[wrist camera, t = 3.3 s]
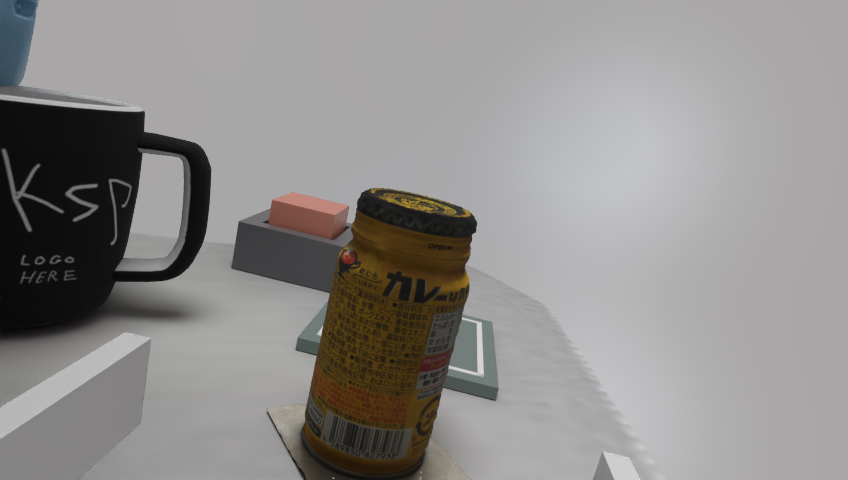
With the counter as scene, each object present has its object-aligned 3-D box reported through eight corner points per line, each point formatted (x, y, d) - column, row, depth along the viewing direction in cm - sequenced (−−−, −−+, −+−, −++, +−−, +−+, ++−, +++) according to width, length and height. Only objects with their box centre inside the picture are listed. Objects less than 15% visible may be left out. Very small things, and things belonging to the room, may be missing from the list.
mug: (-147, 411, 21) (-173, 81, 18) (-230, 287, 29) (-255, 50, 26) (226, 318, 34) (242, 122, 31) (96, 252, 42) (100, 93, 40)
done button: (266, 234, 46) (272, 199, 46) (287, 223, 52) (293, 192, 51) (328, 249, 46) (334, 215, 45) (343, 236, 51) (349, 205, 51)
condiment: (392, 397, 31) (440, 191, 28) (484, 499, 24) (559, 241, 22) (265, 412, 27) (308, 173, 24) (334, 540, 20) (405, 227, 18)
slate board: (295, 349, 34) (298, 336, 34) (340, 293, 45) (342, 283, 45) (495, 400, 33) (498, 387, 33) (489, 331, 45) (492, 321, 44)
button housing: (231, 267, 45) (238, 221, 44) (270, 244, 54) (277, 205, 53) (336, 294, 45) (346, 247, 44) (359, 266, 54) (367, 227, 53)
